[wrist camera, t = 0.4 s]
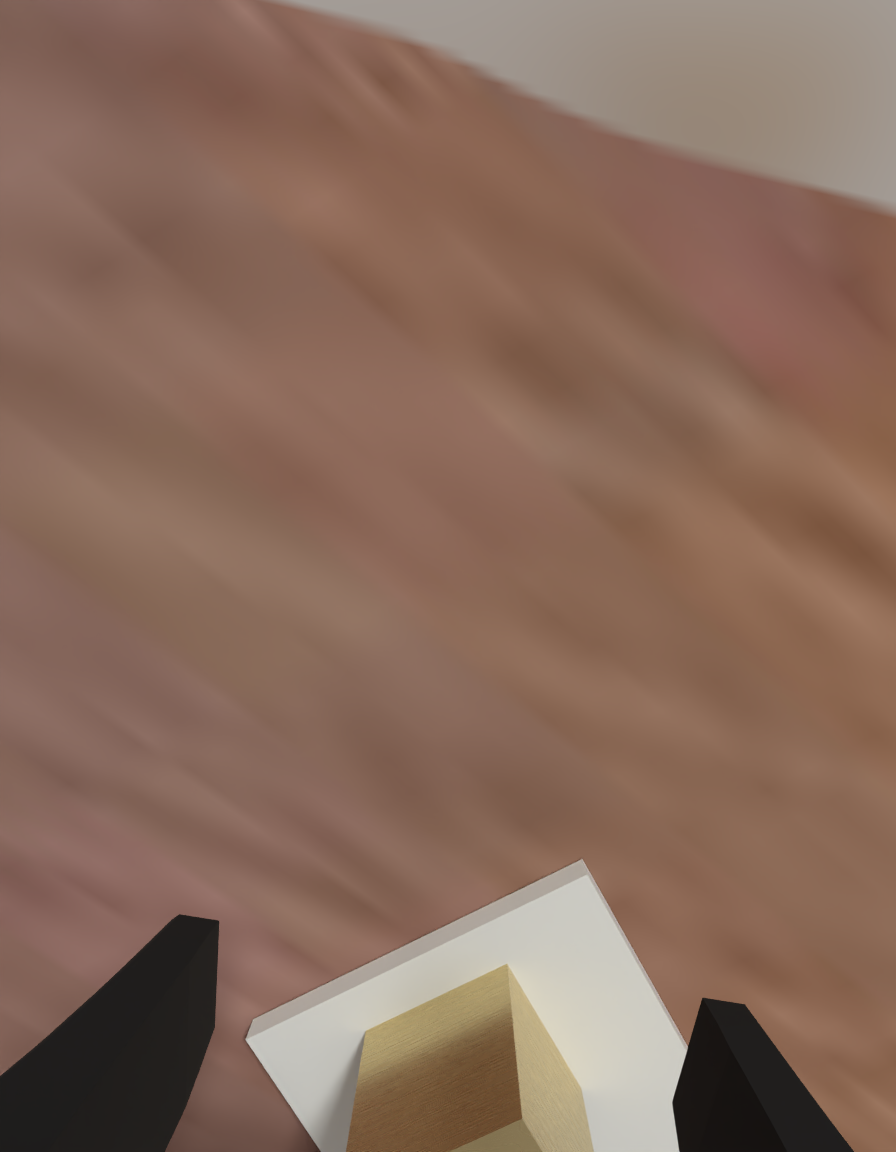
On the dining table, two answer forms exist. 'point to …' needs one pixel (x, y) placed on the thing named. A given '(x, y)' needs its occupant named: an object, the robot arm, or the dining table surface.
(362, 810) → the dining table surface
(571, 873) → the board
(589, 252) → the dining table surface
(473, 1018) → the sleeve
